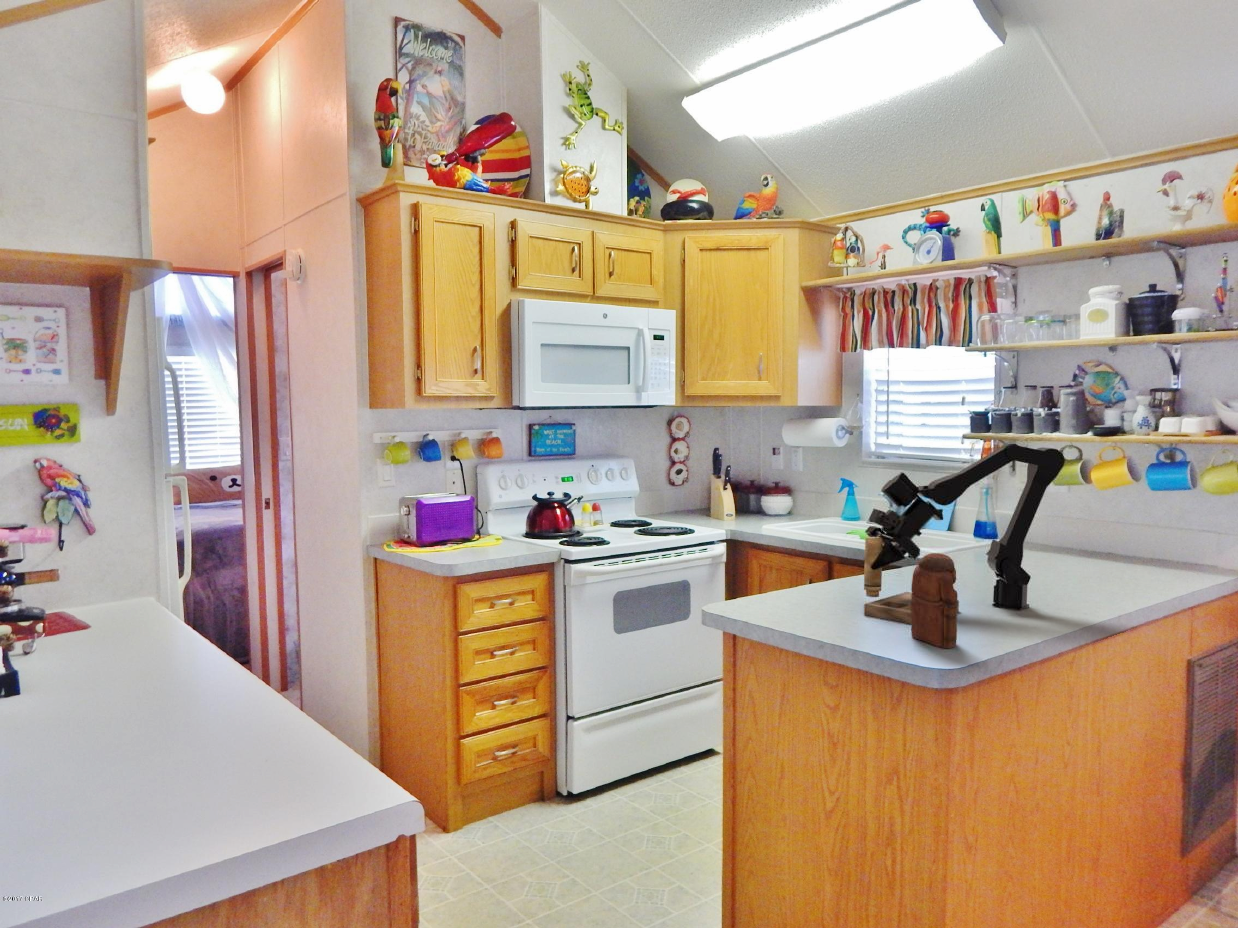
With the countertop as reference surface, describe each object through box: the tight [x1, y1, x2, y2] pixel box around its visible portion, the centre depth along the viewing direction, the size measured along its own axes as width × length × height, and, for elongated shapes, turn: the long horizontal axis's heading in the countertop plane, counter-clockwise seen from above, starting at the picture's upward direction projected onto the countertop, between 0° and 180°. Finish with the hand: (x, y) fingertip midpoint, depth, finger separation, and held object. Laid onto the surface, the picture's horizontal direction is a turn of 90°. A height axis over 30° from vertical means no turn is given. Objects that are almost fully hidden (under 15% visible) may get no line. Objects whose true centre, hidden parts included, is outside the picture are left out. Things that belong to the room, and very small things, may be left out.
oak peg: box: [863, 536, 883, 598], centre depth 208 cm, size 4×4×14 cm
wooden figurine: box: [910, 552, 958, 649], centre depth 174 cm, size 12×6×18 cm, turn 21°
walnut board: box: [863, 591, 960, 625], centre depth 200 cm, size 13×20×2 cm, turn 134°
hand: (867, 567), depth 207 cm, fingers closed on oak peg, 4 cm apart
